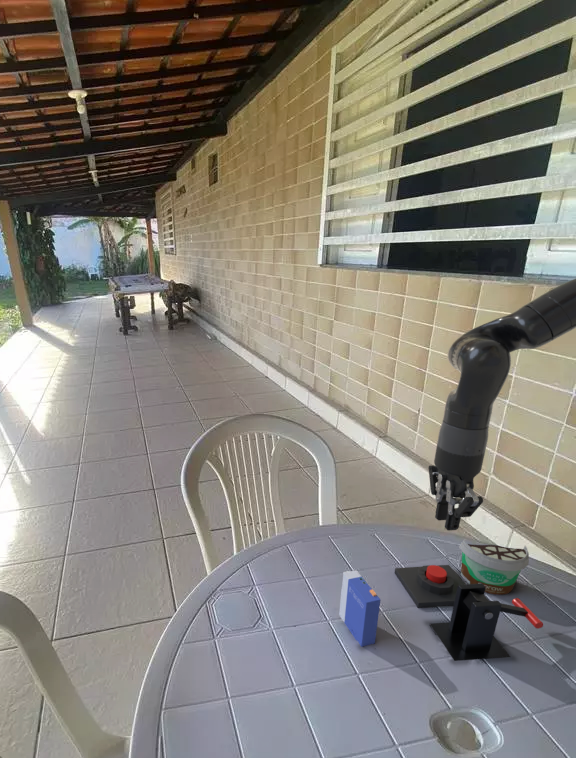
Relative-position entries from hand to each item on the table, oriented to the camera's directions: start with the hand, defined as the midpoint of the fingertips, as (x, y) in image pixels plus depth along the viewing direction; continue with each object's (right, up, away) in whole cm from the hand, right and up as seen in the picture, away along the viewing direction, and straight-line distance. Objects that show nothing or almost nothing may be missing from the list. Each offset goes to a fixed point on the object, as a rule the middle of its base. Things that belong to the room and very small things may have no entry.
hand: (445, 523), depth 83 cm
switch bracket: (0, -21, -6) cm, 22 cm away
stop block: (+1, -16, +6) cm, 17 cm away
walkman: (-19, -21, -2) cm, 28 cm away
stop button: (+1, -13, +5) cm, 14 cm away
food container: (+13, -16, +5) cm, 21 cm away
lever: (+4, -14, -9) cm, 17 cm away
